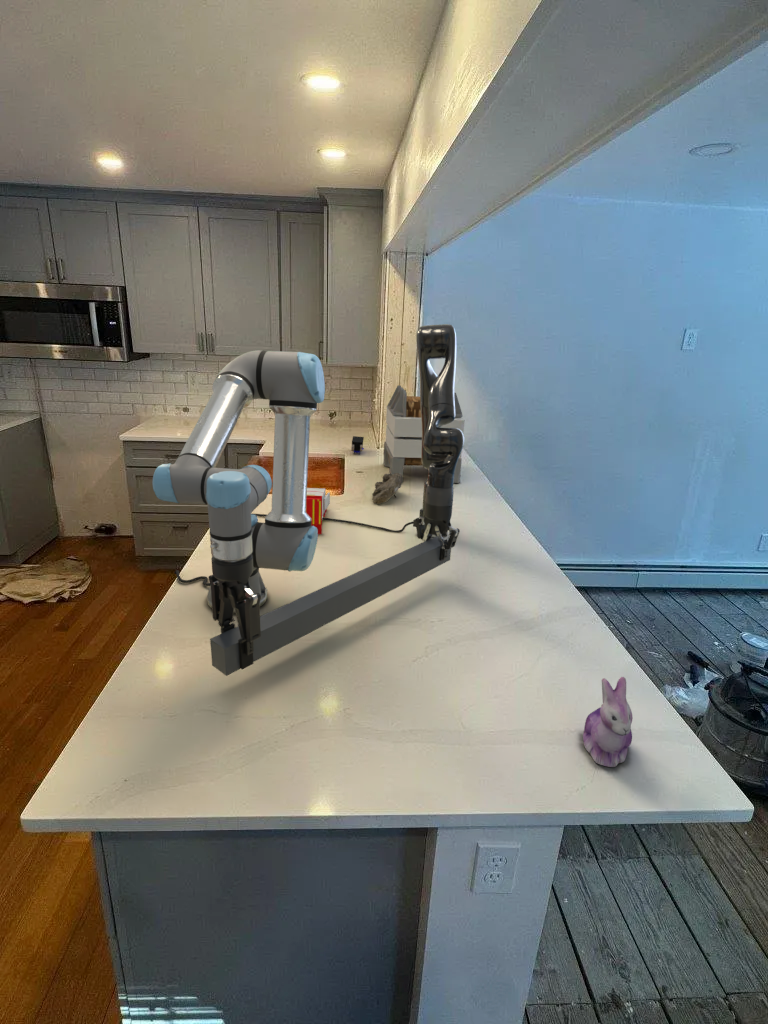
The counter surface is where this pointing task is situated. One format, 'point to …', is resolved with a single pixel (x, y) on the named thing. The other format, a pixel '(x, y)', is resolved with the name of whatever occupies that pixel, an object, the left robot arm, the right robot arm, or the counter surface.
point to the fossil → (387, 487)
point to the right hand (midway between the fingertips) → (434, 556)
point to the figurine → (609, 726)
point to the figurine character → (357, 444)
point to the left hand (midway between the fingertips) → (238, 659)
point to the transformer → (410, 432)
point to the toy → (317, 506)
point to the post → (327, 604)
